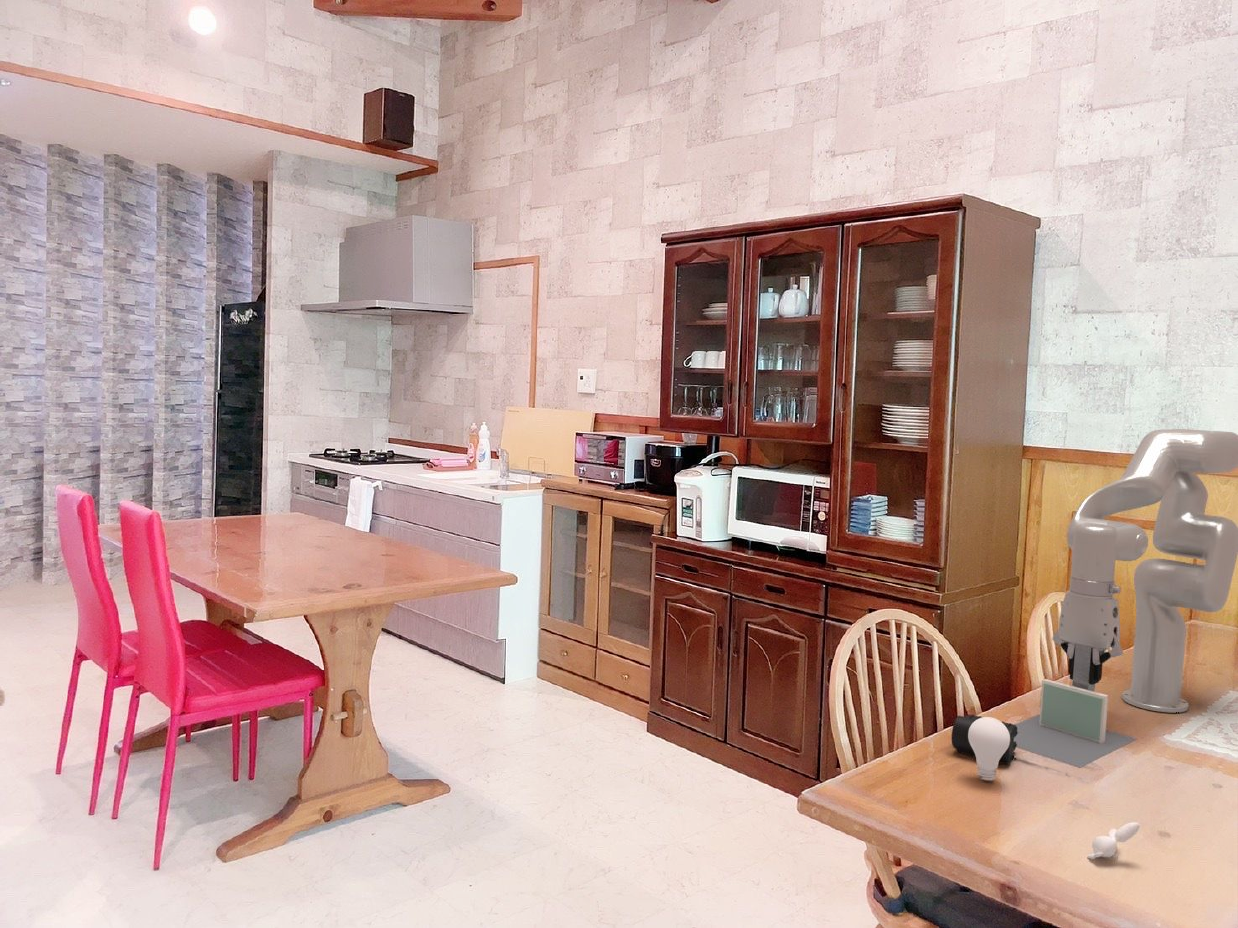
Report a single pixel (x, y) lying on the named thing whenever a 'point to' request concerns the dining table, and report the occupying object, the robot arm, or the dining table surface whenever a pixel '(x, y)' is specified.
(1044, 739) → the mat
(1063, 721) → the tile
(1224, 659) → the dining table surface
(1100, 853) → the rabbit figurine
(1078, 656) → the metal bar
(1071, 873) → the dining table surface
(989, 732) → the light bulb
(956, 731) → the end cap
